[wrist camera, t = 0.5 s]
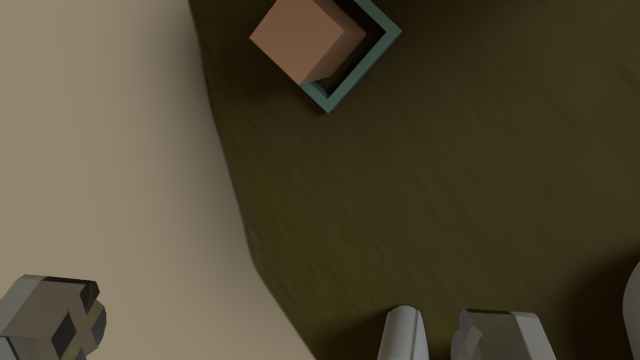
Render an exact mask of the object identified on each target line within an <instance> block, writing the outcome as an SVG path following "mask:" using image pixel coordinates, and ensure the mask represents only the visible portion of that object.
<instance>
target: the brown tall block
mask: <svg viewBox="0 0 640 360" xmlns="http://www.w3.org/2000/svg"><path fill="white" fill-rule="evenodd" d="M366 36H367V33H366V32H365V31H364V30H363V29H362V28H361V27H360V26H359V25H358V24H357V23H356V22H355V21H354V20H353V19H352V18H350V17H349V16H348V15H347V14H346V13H345V12H344V11H343V10H342V9H341V8H340V7H339V6H338V5H337V4H336V3H335V2H334V1H333V0H277V1H276V2H275V4H274V5H273V6H272V8H271V9H270V10H269V12H268V13H267V15H266V16H265V17H264V19H263V20H262V21H261V23H260V24H259V25H258V27H257V28H256V29H255V31H254V32H253V33H252V35H251V36H250V37H249V38H250V39H251V40H252V41H253V42H254V43H255V44H256V45H257V46H258V47H260V48H261V49H262V50H263V51H264V52H265V53H266V54H267V55H268V56H269V57H270V58H271V59H272V60H273V61H274V62H275V63H276V64H277V65H278V66H279V67H280V68H282V69H283V70H284V71H285V72H286V73H287V74H288V75H289V76H290V77H291V78H292V79H293V80H294V81H295V82H296V83H297V84H298V85H301V84H305V83H309V82H313V81H317V80H320V79H324V78H328V77H331V76H332V75H333V74H334V73H335V72H336V70H337V69H338V68H339V67H340V66H341V65H342V63H343V62H344V61H345V60H346V59H347V58H348V56H349V55H350V54H351V53H352V52H353V51H354V49H355V48H356V47H357V46H358V45H359V44H360V43H361V41H362V40H363V39H364V38H365V37H366Z"/></svg>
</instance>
